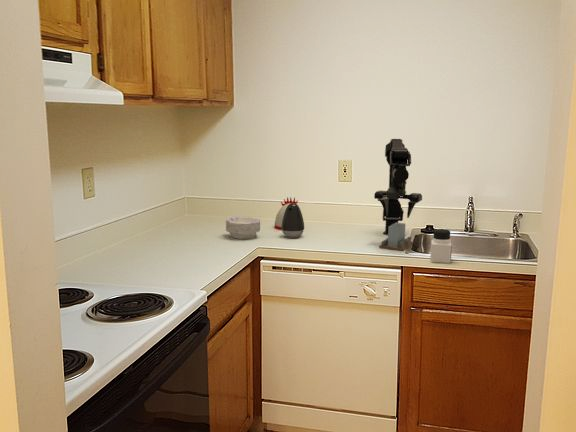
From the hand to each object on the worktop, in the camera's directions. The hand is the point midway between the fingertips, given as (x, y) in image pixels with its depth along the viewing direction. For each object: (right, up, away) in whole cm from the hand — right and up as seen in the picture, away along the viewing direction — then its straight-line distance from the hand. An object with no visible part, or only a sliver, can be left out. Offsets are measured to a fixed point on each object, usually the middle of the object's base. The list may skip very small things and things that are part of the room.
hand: (397, 216), depth 244 cm
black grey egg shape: (-43, -9, +19) cm, 48 cm away
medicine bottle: (+12, -17, -21) cm, 30 cm away
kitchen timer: (-45, -6, +38) cm, 59 cm away
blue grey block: (0, -11, +2) cm, 11 cm away
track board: (0, -12, +2) cm, 12 cm away
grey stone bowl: (-65, -9, +18) cm, 68 cm away
